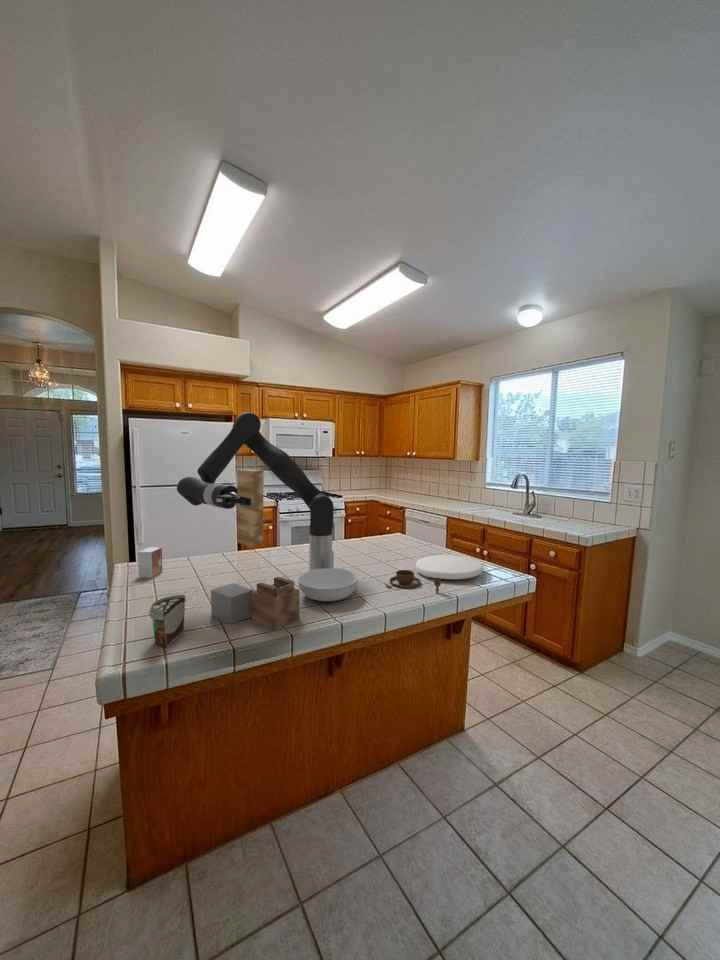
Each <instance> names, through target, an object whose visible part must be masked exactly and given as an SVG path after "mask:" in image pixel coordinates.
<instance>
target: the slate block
mask: <svg viewBox="0 0 720 960" xmlns="http://www.w3.org/2000/svg"><path fill="white" fill-rule="evenodd" d="M252 591H254V590H253V589H252V588H249V587H247V586H243V585H239V584H237V583H236V582H235V583H234V582H231V583H228V584H225V585H222V586H219V587H216V588H214V589H210V613H211V616H212V617H215V618H217V619H219V620H221V621H223V622H224V623H227V624H230V625H233V624H235V623H238V622H241V621H242V620H245V619H248V618H249V617H252V612H251V592H252Z"/></svg>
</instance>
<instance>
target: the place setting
mask: <svg viewBox="0 0 720 960" xmlns="http://www.w3.org/2000/svg"><path fill="white" fill-rule="evenodd" d="M393 581H394V582H395V581H397V582H398V583H399V584H397V583H394V582H393ZM413 582H416V583H417V584H411V583H413ZM389 584H390V585H389ZM389 584H387V583H384V585H385V587H386V588H387V589H392V586H393V587H395V588H398V589H405V590H408V589H415V588H418V587H419V586H420V585H421V579H420V578H417V577H415V572H414V571H413V570H409V569H399V570H397V571H396V573H395V576H391V578H389ZM410 584H411V585H410ZM433 584H434V586H435V594H440V592H439V591H440V590H439V589H440V588H439V587H441V585H442V579H441V578H433Z"/></svg>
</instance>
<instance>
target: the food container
mask: <svg viewBox="0 0 720 960" xmlns="http://www.w3.org/2000/svg"><path fill="white" fill-rule="evenodd" d="M186 599H187V598H186V594H177V595H169V596H167V597H166V596H165V597H163V598H162V597H161V598H159V599H158V600H156V601H154V602H153V603H152V604H151V606H150V608H149V611H148V612H149V613H148V615H149V617H150V618H151V619H152V626H153V627H152V628H153V634H154V635H153V636H154V642H155V645H156V646H157V647H160V648H168V647H169V646H170V645H171V644H172V643H173V642H174V641H175V640H176V639H177V638H178V637H179V636H180V635H182V633H183V632H184V631H185V615H186V614H185V611H186V608H185V606H186V605H185V604H186V601H187V600H186Z"/></svg>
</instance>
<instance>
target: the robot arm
mask: <svg viewBox="0 0 720 960" xmlns="http://www.w3.org/2000/svg"><path fill="white" fill-rule="evenodd" d="M261 423H262V422H261V419H260V418H259V416H258V415H257V414H255V413H254V412H248V411H245V412H243V413H241V414H239V415H238V416H237V418H236V419H235V420H234V422H233V424H232V429H230V431H229V433H228V434H227V435H226V436H225V437H224V439H223V440H222V441H221V442H220V444H218V446H217V447H216V448H215V449H214V450H213V451H212V452H211V453H210V454H209V455H208V457H206V459H205V460H204V461H203V462H202V463H201V464H200V465H199V467H198V468H197V474H198V476H199V477H200V479H199V478H197V477H195V476H186V477H183V478H182V479H180V480H179V481H178V482H177V485H176V491H177V493H178V494H179V495H180V497H181V496H182V497H183V498H184V499H185V500H186V501H187V502H188V503H190V504H191V505H193V506H200V505H202V504H203V505H209V506H212V507H215V508H221V509H226V510H230V509H233V508H235V507H237V505H246V506H250V505H251V499H250V498H246V497H241V496H238V495H237V486H234V485H231V484H224V483H216V481H217V479H218V478H219V476H220V475H221V474H222V473H223V472H224V470H225V469H226V468H227V466H228V465H229V464H230V462H231V461H232V459H233V458H234V457H235V455H236V454H237V453H238V451H240V449H241V448H242V447H243V446H244V445H245V446H246V447H247V448H248V449H249V450H251V451H252V452H253V453H254V454H255V455H256V456H257V457H258V458H259V460H260V461H261V462H262V463H263V464H265V466H266V467H267V468H268V469H269V470H270V471H271V472H272V474H274V476H276V478H278V480H279V481H281V482H282V483H283V484H284V485H286V487H287V488H289V489H290V490H292V491H293V492H294V493H295V494H297V495H298V496H299V498H300V499H301V500H302V501H303V502H304V504H305V505H306V506H307V507H308V509H309V519H310V520H309V523H310V524H309V528H308V529H309V531H308V532H309V537H308V538H309V542H308V543H309V545H308V546H309V547H308V548H309V552H308V553H309V557H308V558H309V567H308V568H309V570H308V571H311V570H316V569H324V568H334V567H335V566H334V564H335V563H334V561H335V559H334V558H335V557H334V555H335V554H334V551H333V530H334V529H333V528H334V510H335V509H334V503H333V500H332V499H331V498H330V497H329V496H328V495H326V494H325V493H323V492H322V491H321V490H320V489H319V488H317V486H315V485H314V484H313V483H312V482H311V480H309V478H308V476H307V475H306V473H305V472H304V471H303V469H302V468H301V467H300V466H299V464H298V463H297V462H296V460H294V459H293V458H292V457H291V456H290V455H289V454H288V453H287V452H285V451H284V450H282V449H281V448H279V447H278V446H275V445H273V444H272V443H271V442H269V441H268V439H266V437H264V435H263V434H262V433H261V432H260V430H261Z"/></svg>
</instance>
